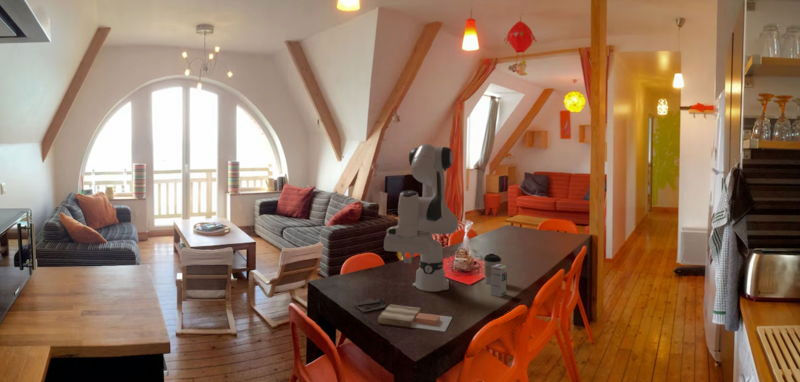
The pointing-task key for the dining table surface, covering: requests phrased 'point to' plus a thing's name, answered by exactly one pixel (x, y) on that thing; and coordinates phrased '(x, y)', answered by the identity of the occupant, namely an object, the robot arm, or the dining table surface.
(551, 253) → the dining table surface
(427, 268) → the robot arm
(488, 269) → the coffee cup
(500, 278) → the syrup box
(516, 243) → the dining table surface
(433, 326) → the mat
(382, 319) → the beige square slab
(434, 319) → the pink flat block
